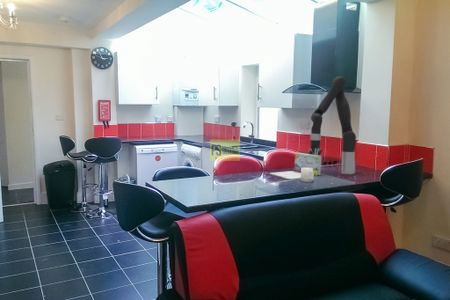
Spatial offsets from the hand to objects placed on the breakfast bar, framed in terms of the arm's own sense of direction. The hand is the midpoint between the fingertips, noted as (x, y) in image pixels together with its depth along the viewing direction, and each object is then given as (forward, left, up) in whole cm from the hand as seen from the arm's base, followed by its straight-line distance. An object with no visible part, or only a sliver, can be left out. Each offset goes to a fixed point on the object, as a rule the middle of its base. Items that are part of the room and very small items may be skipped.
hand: (314, 161), depth 288 cm
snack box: (+7, 0, -9) cm, 12 cm away
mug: (+25, +24, -9) cm, 36 cm away
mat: (+22, 0, -9) cm, 24 cm away
